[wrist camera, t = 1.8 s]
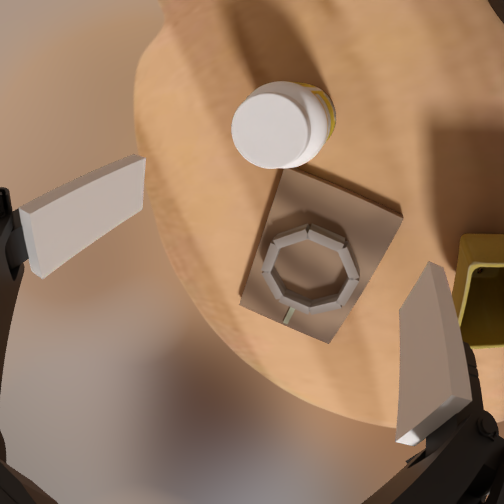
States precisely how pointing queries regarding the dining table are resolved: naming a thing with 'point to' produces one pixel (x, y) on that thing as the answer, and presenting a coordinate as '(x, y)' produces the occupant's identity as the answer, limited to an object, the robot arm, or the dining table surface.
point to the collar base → (317, 254)
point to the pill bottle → (283, 124)
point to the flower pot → (480, 290)
